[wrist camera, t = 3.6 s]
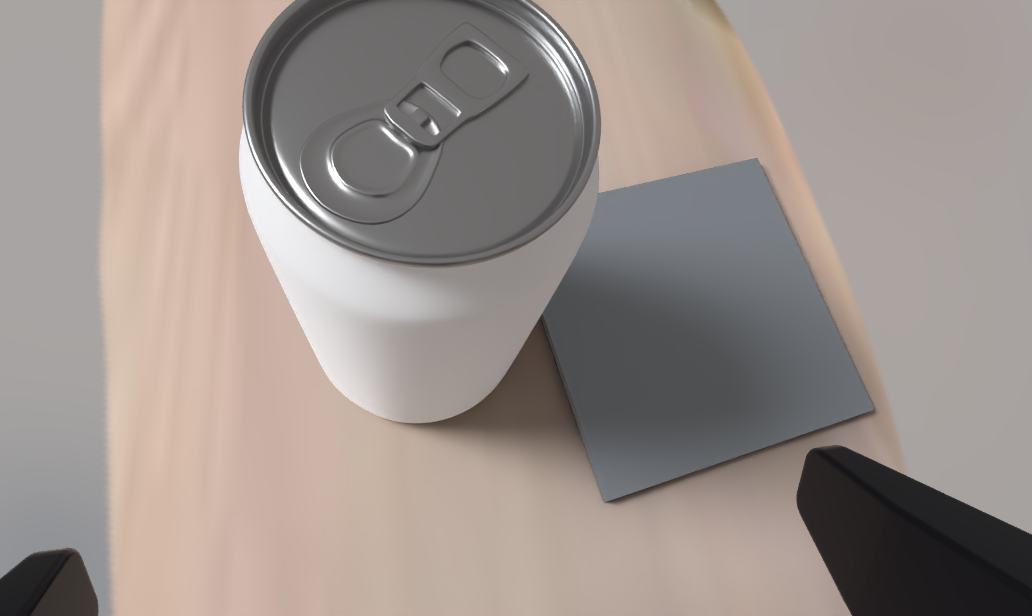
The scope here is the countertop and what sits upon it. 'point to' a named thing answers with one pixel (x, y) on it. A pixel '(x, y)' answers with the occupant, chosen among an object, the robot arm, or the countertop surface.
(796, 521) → the countertop surface
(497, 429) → the countertop surface
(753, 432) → the mat
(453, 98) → the can
